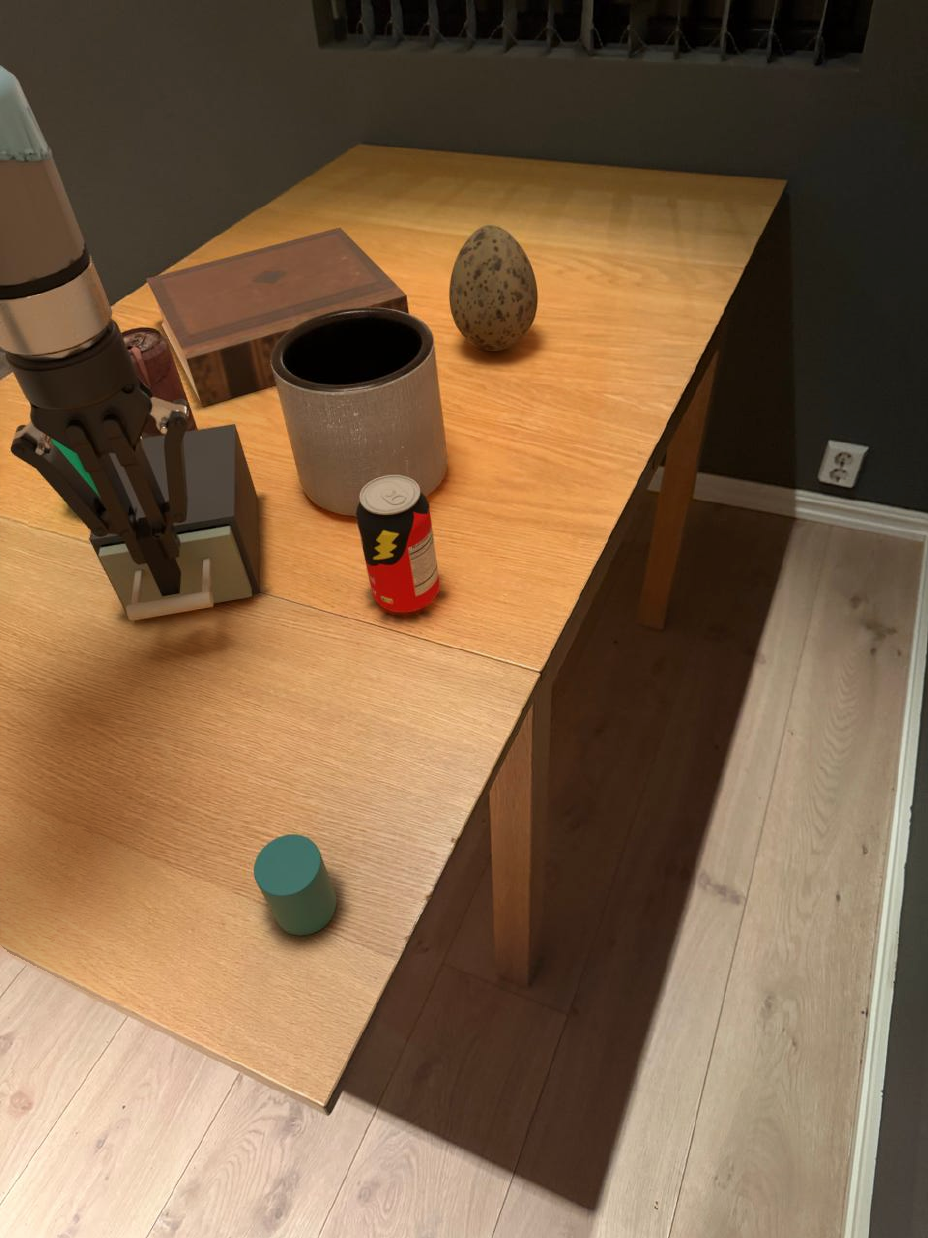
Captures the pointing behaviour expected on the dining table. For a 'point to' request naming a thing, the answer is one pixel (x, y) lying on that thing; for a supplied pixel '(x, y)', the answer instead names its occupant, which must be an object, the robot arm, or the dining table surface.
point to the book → (262, 306)
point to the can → (156, 371)
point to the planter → (360, 403)
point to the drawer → (204, 574)
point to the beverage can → (398, 543)
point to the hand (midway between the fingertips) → (171, 584)
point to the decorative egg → (493, 290)
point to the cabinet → (206, 491)
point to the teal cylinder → (295, 884)
